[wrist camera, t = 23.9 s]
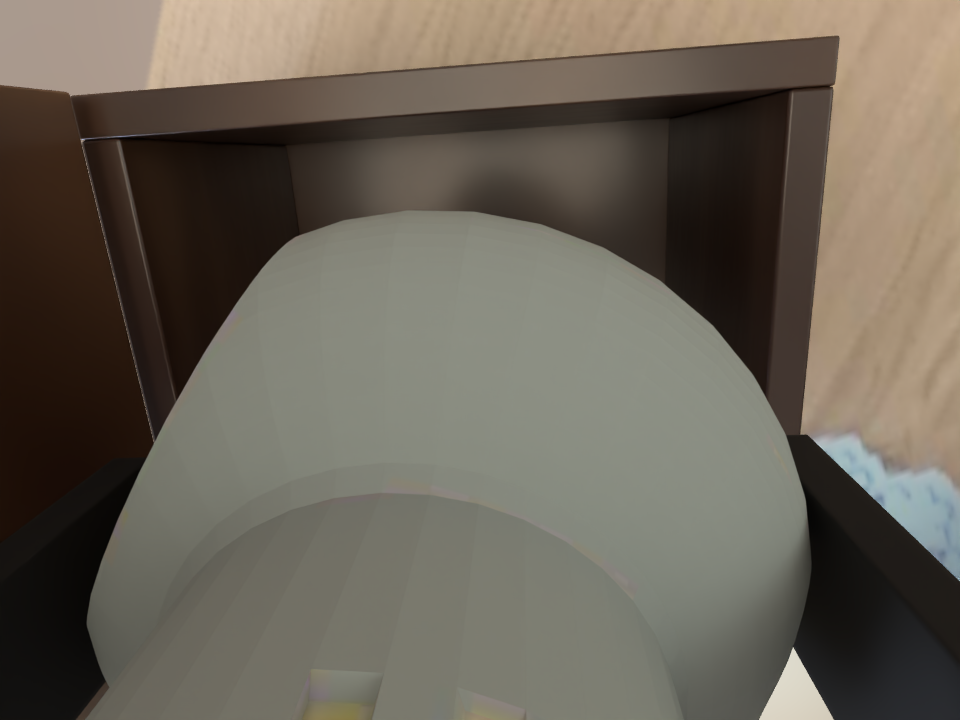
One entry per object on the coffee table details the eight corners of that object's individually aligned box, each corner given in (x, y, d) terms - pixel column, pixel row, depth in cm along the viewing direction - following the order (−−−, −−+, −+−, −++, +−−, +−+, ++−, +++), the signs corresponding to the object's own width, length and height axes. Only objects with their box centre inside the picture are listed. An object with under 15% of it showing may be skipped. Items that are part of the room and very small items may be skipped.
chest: (688, 91, 23) (840, 35, 12) (676, 477, 28) (777, 682, 17) (268, 122, 24) (68, 95, 13) (325, 489, 29) (212, 687, 18)
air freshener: (502, 732, 15) (473, 1734, 5) (180, 576, 14) (-514, 1435, 5) (793, 349, 12) (1948, 1150, 2) (400, 119, 11) (-379, -138, 1)
